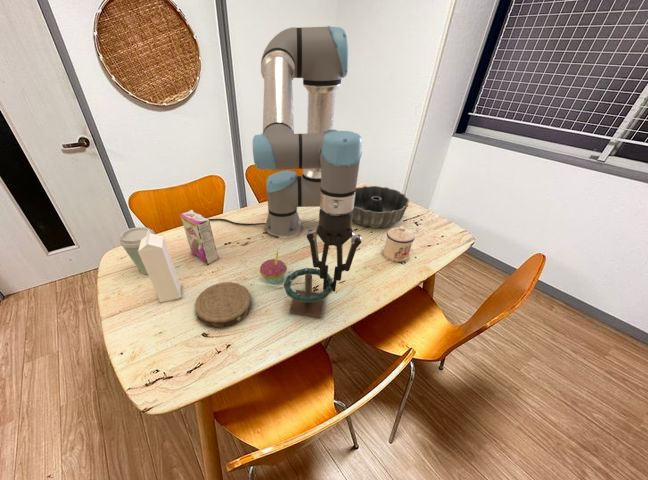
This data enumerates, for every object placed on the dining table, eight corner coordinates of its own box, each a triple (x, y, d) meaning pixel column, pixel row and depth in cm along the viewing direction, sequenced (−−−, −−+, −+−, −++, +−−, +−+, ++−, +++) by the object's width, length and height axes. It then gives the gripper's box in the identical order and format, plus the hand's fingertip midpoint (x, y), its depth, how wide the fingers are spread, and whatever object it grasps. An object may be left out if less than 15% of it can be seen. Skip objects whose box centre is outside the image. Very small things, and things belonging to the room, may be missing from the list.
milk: (160, 302, 84) (132, 241, 71) (161, 289, 89) (135, 230, 75) (181, 298, 85) (157, 237, 72) (181, 285, 90) (159, 226, 76)
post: (289, 313, 80) (288, 284, 73) (296, 292, 87) (295, 264, 80) (320, 318, 78) (322, 289, 71) (324, 296, 85) (327, 267, 78)
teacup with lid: (394, 265, 96) (402, 237, 89) (377, 252, 103) (382, 224, 96) (419, 256, 101) (428, 228, 93) (401, 244, 107) (408, 216, 100)
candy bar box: (190, 253, 105) (178, 214, 95) (202, 247, 107) (191, 209, 97) (207, 265, 99) (196, 224, 88) (219, 259, 101) (210, 219, 91)
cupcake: (291, 275, 93) (290, 245, 86) (279, 291, 87) (277, 260, 80) (268, 269, 96) (266, 240, 89) (256, 284, 90) (252, 254, 83)
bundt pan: (373, 241, 109) (378, 218, 103) (330, 215, 126) (332, 194, 120) (416, 222, 120) (423, 200, 114) (372, 201, 138) (375, 181, 132)
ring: (278, 300, 74) (278, 295, 73) (291, 270, 85) (290, 265, 84) (329, 306, 71) (329, 301, 70) (336, 274, 81) (336, 269, 80)
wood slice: (186, 309, 82) (183, 302, 80) (229, 282, 91) (227, 275, 89) (218, 338, 73) (216, 331, 71) (262, 305, 82) (261, 298, 81)
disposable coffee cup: (159, 256, 103) (145, 220, 94) (172, 269, 97) (159, 232, 88) (129, 269, 97) (112, 232, 88) (141, 283, 91) (124, 245, 82)
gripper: (300, 213, 60) (300, 292, 75) (370, 219, 58) (356, 300, 72) (306, 199, 66) (305, 275, 81) (370, 204, 63) (357, 282, 78)
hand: (329, 287), depth 76 cm, fingers closed on ring, 2 cm apart
